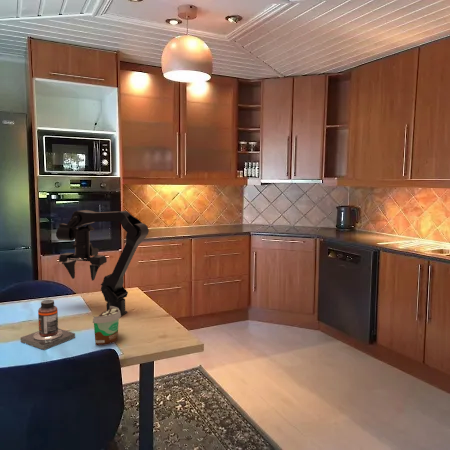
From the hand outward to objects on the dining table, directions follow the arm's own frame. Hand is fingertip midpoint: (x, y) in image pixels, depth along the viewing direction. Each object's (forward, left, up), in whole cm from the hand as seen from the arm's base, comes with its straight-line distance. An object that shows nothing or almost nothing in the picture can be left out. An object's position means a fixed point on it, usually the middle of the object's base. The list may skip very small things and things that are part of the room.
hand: (83, 279), depth 166 cm
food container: (-27, +24, -13) cm, 38 cm away
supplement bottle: (-7, +30, -11) cm, 33 cm away
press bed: (-7, +30, -13) cm, 33 cm away
